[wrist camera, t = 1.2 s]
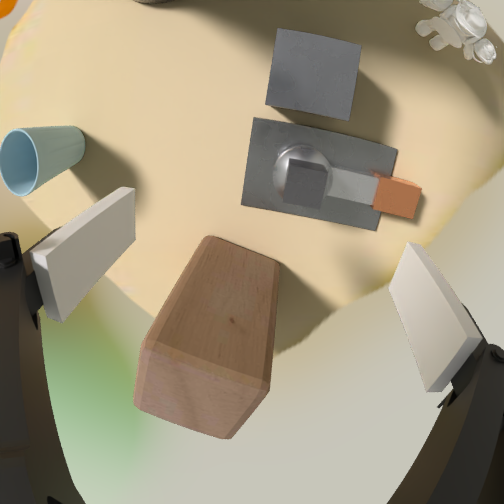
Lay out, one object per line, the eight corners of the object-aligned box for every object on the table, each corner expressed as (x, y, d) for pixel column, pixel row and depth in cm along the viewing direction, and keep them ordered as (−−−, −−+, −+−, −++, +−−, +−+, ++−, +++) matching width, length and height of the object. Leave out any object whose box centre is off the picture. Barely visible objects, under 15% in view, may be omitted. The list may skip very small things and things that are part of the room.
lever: (253, 117, 30) (244, 119, 24) (418, 155, 29) (448, 169, 23) (241, 203, 35) (229, 227, 28) (395, 234, 34) (417, 263, 27)
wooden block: (282, 260, 37) (274, 394, 20) (253, 317, 42) (230, 445, 24) (206, 229, 37) (137, 344, 19) (186, 291, 41) (129, 409, 23)
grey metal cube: (279, 45, 26) (277, 28, 20) (345, 58, 26) (361, 45, 19) (270, 105, 29) (265, 104, 23) (335, 118, 29) (348, 121, 22)
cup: (96, 121, 32) (41, 133, 22) (88, 178, 35) (37, 204, 26) (56, 114, 31) (0, 125, 22) (50, 166, 35) (-2, 188, 26)
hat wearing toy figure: (393, 15, 22) (437, -19, 12) (412, 0, 21) (459, -34, 10) (446, 74, 24) (508, 69, 14) (463, 58, 23) (525, 49, 12)
